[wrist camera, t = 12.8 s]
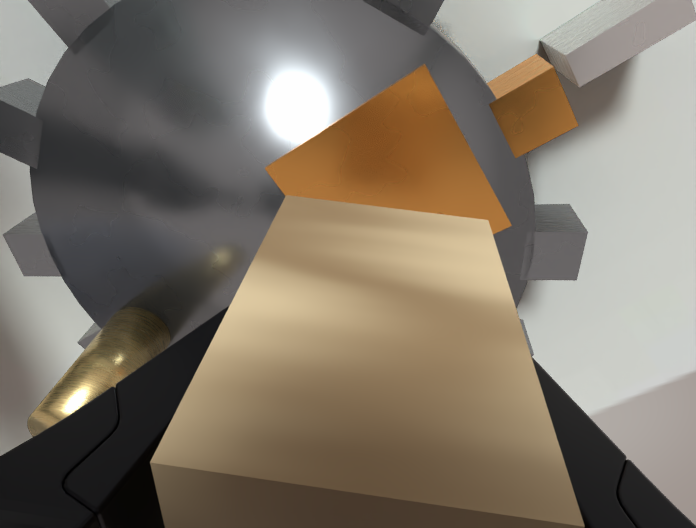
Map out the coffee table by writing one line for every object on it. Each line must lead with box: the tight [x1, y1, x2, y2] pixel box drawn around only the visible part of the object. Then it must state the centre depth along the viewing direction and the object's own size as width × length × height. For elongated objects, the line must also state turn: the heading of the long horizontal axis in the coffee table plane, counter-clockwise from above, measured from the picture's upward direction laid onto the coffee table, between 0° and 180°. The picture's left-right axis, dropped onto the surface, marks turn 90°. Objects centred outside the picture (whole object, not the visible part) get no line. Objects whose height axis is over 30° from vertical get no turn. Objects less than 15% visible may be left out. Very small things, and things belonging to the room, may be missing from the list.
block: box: [150, 195, 585, 528], centre depth 8 cm, size 4×4×6 cm
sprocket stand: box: [540, 0, 696, 87], centre depth 17 cm, size 17×15×3 cm
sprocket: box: [0, 0, 588, 437], centre depth 15 cm, size 20×20×7 cm
